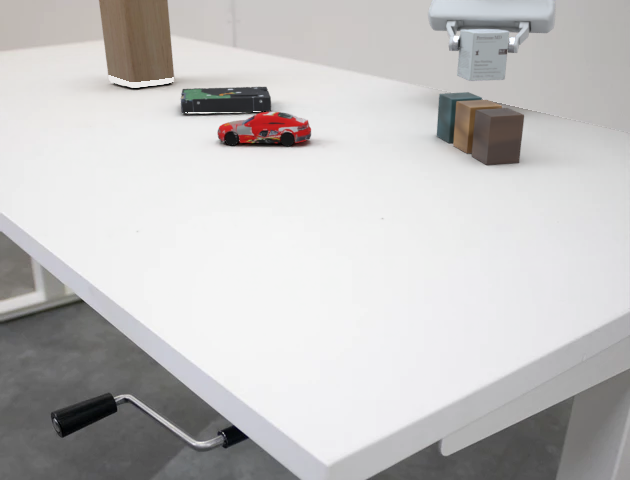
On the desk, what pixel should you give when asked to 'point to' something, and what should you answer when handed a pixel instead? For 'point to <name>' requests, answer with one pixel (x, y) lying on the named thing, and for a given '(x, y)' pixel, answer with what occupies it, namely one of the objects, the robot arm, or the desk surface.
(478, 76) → the white cardboard box
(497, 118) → the block row
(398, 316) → the desk surface
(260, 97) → the disk drive
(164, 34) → the block
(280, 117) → the race car
